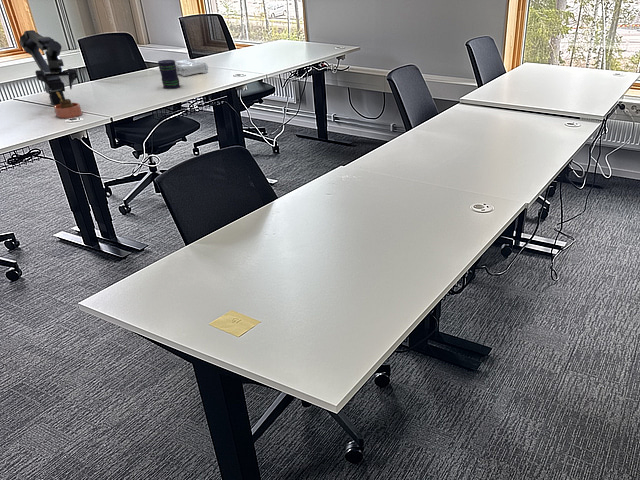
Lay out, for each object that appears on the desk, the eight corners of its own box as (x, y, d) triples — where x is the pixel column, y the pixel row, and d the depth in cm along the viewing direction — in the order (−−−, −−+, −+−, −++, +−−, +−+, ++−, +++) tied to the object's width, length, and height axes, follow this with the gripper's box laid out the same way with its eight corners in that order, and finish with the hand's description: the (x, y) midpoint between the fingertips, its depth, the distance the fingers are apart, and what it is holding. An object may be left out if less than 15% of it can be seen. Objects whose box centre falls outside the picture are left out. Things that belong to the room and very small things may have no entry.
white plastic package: (189, 66, 399) (187, 55, 395) (209, 72, 383) (207, 60, 379) (163, 70, 388) (160, 59, 384) (183, 77, 372) (181, 64, 367)
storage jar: (164, 89, 342) (158, 63, 334) (162, 86, 350) (157, 60, 342) (181, 88, 346) (175, 62, 338) (179, 84, 353) (174, 59, 345)
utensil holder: (78, 112, 297) (70, 89, 290) (69, 116, 292) (62, 92, 285) (68, 112, 298) (61, 88, 291) (59, 115, 293) (52, 91, 286)
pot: (75, 111, 302) (72, 101, 299) (86, 114, 296) (83, 104, 293) (52, 115, 294) (49, 106, 291) (64, 119, 288) (60, 109, 285)
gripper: (29, 54, 283) (37, 83, 282) (71, 52, 290) (78, 81, 290) (34, 65, 293) (41, 94, 292) (74, 63, 300) (81, 91, 300)
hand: (60, 89), depth 293 cm, fingers open, 9 cm apart
